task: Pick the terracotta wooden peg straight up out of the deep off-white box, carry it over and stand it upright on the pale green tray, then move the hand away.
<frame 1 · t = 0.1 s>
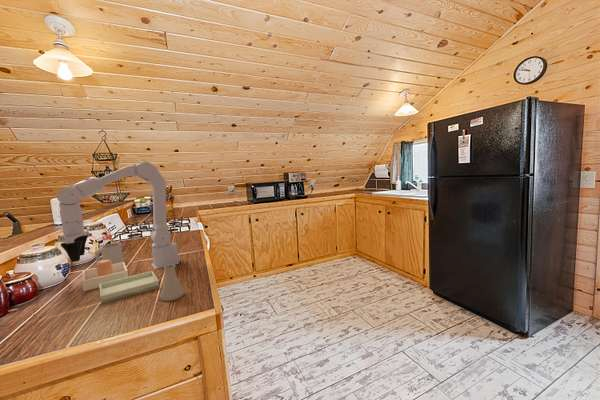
hand: (78, 258, 93), 10 cm above the counter, tool pointing down, fingers open, 7 cm apart
cup: (109, 265, 113), on the counter
peg: (106, 279, 96), resting on box
tray: (129, 289, 89), on the counter
flask: (172, 296, 82), on the counter
box: (106, 280, 96), on the counter
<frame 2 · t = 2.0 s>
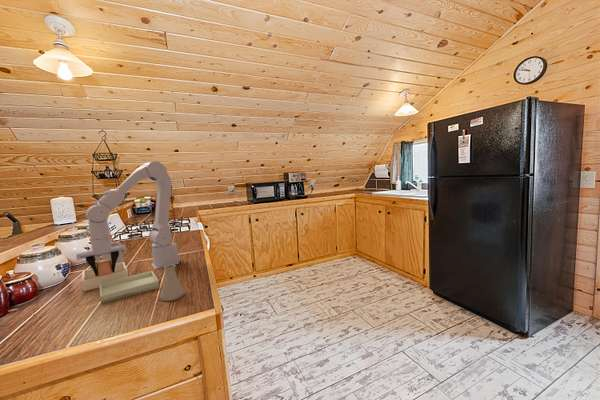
hand: (105, 273, 96), 3 cm above the counter, tool pointing down, fingers closed on peg, 4 cm apart
peg: (106, 279, 96), resting on box, touching gripper
everything else where it was.
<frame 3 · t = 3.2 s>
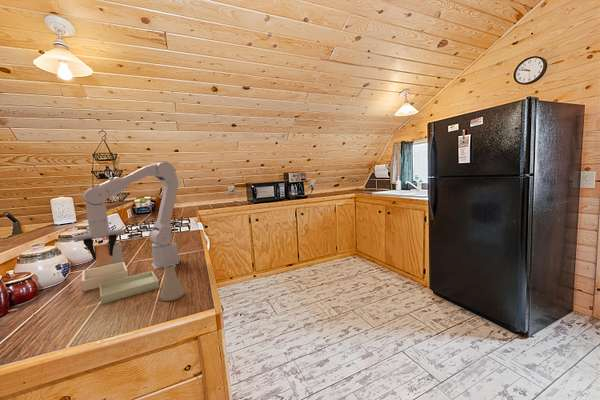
hand: (103, 256, 95), 9 cm above the counter, tool pointing down, fingers closed on peg, 4 cm apart
peg: (103, 263, 96), point 7 cm above the counter, touching gripper
everything else where it was.
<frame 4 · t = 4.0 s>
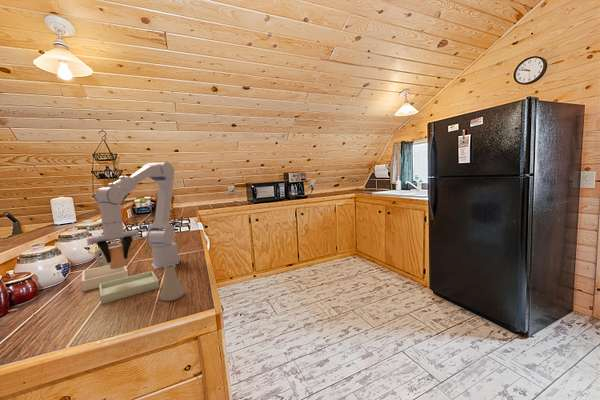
hand: (117, 260, 90), 10 cm above the counter, tool pointing down, fingers closed on peg, 4 cm apart
peg: (118, 266, 91), point 7 cm above the counter, touching gripper
everything else where it was.
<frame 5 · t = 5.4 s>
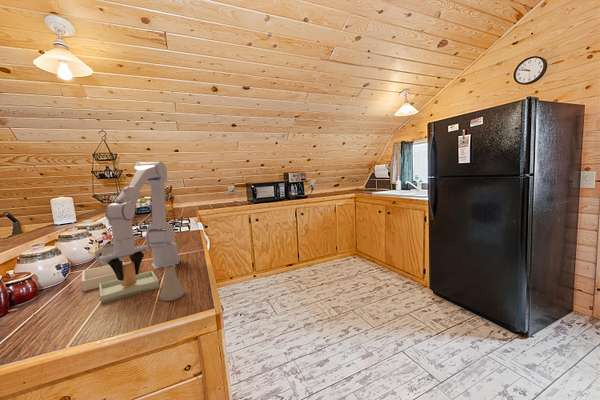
hand: (128, 276, 88), 4 cm above the counter, tool pointing down, fingers closed on peg, 4 cm apart
peg: (129, 283, 88), point 2 cm above the counter, touching gripper
everything else where it was.
when the fingers open (4 cm above the counter, at t = 6.2 s): peg stays where it is, resting on tray.
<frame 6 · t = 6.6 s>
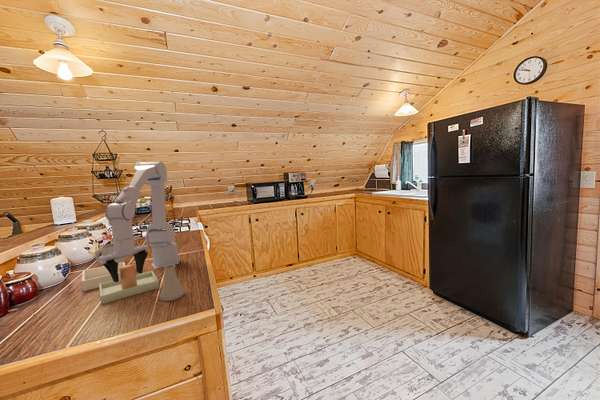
hand: (128, 276, 88), 4 cm above the counter, tool pointing down, fingers open, 7 cm apart
peg: (129, 286, 88), point 1 cm above the counter, touching tray
everything else where it was.
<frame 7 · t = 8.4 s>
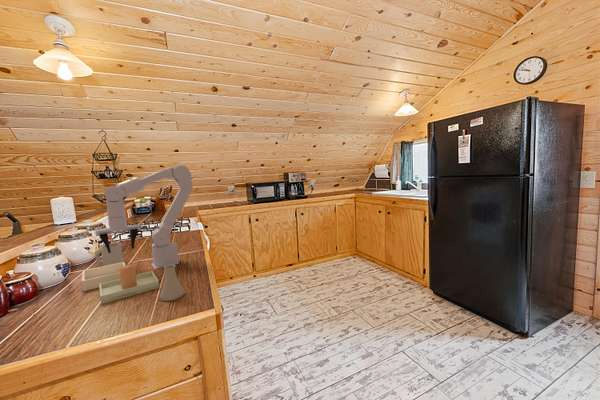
hand: (121, 250, 103), 9 cm above the counter, tool pointing down, fingers open, 7 cm apart
nothing on the counter moved.
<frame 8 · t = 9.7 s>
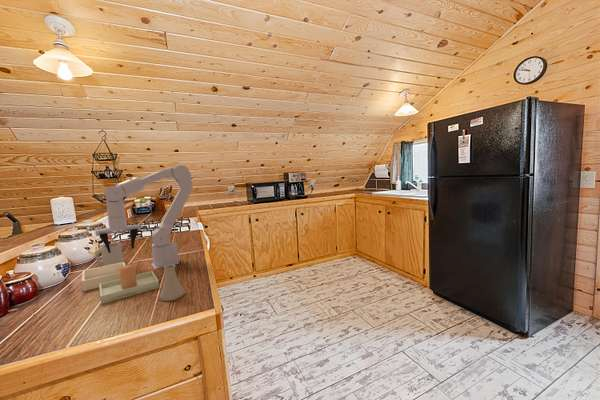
hand: (121, 250, 103), 9 cm above the counter, tool pointing down, fingers open, 7 cm apart
nothing on the counter moved.
at the end: peg inside the target area on the tray (0.1 cm from its centre), point 1.0 cm above the tray's base; peg tilted 0°; the gripper is holding nothing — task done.
